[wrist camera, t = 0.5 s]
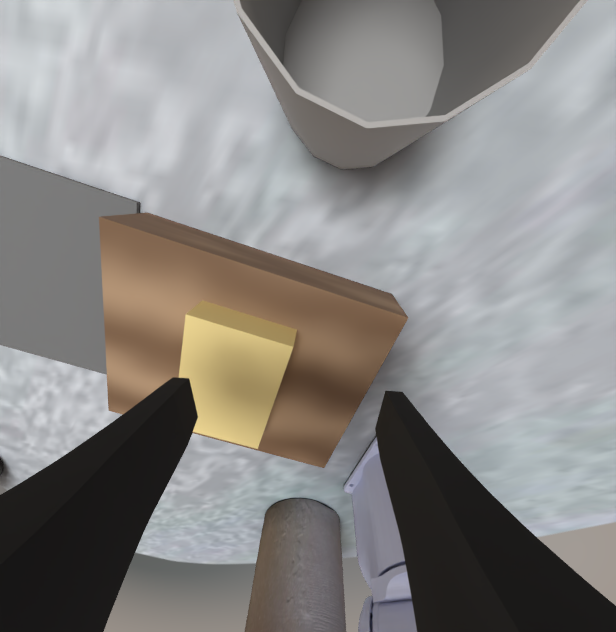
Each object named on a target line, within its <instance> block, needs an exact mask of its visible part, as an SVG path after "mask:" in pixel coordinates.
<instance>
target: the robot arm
mask: <svg viewBox="0 0 616 632" xmlns="http://www.w3.org/2000/svg"><path fill="white" fill-rule="evenodd" d="M197 418H198V414H197V410H196V406H195V401H194V397H193V393H192V388H191V384H190V379H189V378H177V377H173V378H171V379H170V380H168V381H167V382H166V383H164V384H163V385H162V386H160V387H159V388H158V389H156V390H155V391H154V392H152V393H151V394H150V395H148V396H147V397H146V398H144V399H143V400H142V401H140V402H139V403H138V404H136V405H135V406H134V407H132V408H131V409H130V410H128V411H127V412H126V413H124V414H123V415H122V416H120V417H119V418H118V419H116V420H115V421H114V422H112V423H111V424H109V425H108V426H107V427H105V428H104V429H102V430H101V431H99V432H98V433H97V434H95V435H94V436H92V437H91V438H89V439H88V440H86V441H85V442H84V443H82V444H81V445H79V446H78V447H76V448H75V449H74V450H72V451H71V452H69V453H68V454H66V455H65V456H63V457H62V458H60V459H58V460H57V461H55V462H54V463H52V464H51V465H49V466H48V467H46V468H44V469H43V470H41V471H39V472H38V473H36V474H35V475H33V476H31V477H30V478H28V479H27V480H25V481H23V482H22V483H20V484H18V485H17V486H15V487H13V488H12V489H10V490H8V491H7V492H5V493H3V494H1V495H0V632H103V631H104V628H105V626H106V623H107V620H108V618H109V615H110V612H111V610H112V607H113V605H114V602H115V600H116V598H117V595H118V592H119V590H120V587H121V585H122V582H123V580H124V578H125V575H126V573H127V570H128V568H129V565H130V563H131V561H132V558H133V556H134V553H135V551H136V549H137V546H138V544H139V542H140V539H141V537H142V534H143V532H144V530H145V528H146V526H147V524H148V521H149V519H150V517H151V515H152V513H153V511H154V509H155V507H156V505H157V504H158V502H159V500H160V498H161V496H162V494H163V492H164V490H165V488H166V486H167V484H168V482H169V480H170V478H171V476H172V475H173V473H174V471H175V469H176V467H177V465H178V463H179V461H180V459H181V457H182V455H183V453H184V451H185V449H186V447H187V445H188V442H189V440H190V437H191V435H192V432H193V430H194V427H195V424H196V421H197ZM375 429H376V436H377V437H376V438H375V439H374V441H373V442H372V444H371V445H370V447H369V448H368V450H367V452H366V453H365V455H364V456H363V458H362V459H361V461H360V462H359V464H358V465H357V467H356V468H355V470H354V471H353V473H352V475H351V476H350V478H349V479H348V481H347V482H346V484H345V485H344V491H345V492H346V493H350V494H352V502H353V513H354V524H355V535H356V546H357V556H358V562H359V565H360V568H361V571H362V574H363V576H364V578H365V580H366V582H367V584H368V586H369V587H370V589H371V590H372V596H369V597H367V598H366V599H365V602H364V605H363V609H362V611H361V614H360V619H359V627H358V632H616V606H615V605H614V604H613V603H612V602H610V601H609V600H608V599H607V598H605V597H604V596H603V595H602V594H601V593H599V592H598V591H597V590H596V589H595V588H593V587H592V586H591V585H590V584H589V583H588V582H587V581H585V580H584V579H583V578H582V577H581V576H580V575H578V574H577V573H576V572H575V571H574V570H573V569H572V568H570V567H569V566H568V565H567V564H566V563H565V562H564V561H563V560H561V559H560V558H559V557H558V556H557V555H556V554H555V553H553V552H552V551H551V550H550V549H549V548H548V547H547V546H546V545H544V544H543V543H542V542H541V541H540V540H539V539H538V538H537V537H536V536H534V535H533V534H532V533H531V532H530V531H529V530H528V529H527V528H526V527H525V526H524V525H523V524H521V523H520V522H519V521H518V520H517V519H516V518H515V517H514V516H513V515H512V514H511V513H510V512H509V511H508V510H507V509H506V508H505V507H504V506H503V505H502V504H501V503H500V502H499V501H498V500H497V499H496V498H495V497H494V496H493V495H492V494H491V493H490V492H489V491H488V490H487V489H486V488H485V487H484V486H483V485H482V484H481V483H480V482H479V481H478V480H477V479H476V478H475V477H474V476H473V475H472V473H471V472H470V471H469V470H468V469H467V468H466V467H465V466H464V465H463V464H462V463H461V462H460V460H459V459H458V458H457V457H456V456H455V455H454V454H453V453H452V451H451V450H450V449H449V448H448V447H447V446H446V444H445V443H444V442H443V441H442V440H441V439H440V437H439V436H438V435H437V434H436V433H435V432H434V430H433V429H432V428H431V427H430V426H429V424H428V423H427V422H426V421H425V419H424V418H423V417H422V416H421V414H420V413H419V412H418V411H417V409H416V408H415V407H414V406H413V404H412V403H411V402H410V401H409V399H408V398H407V397H406V396H405V395H404V393H403V392H395V391H385V395H384V399H383V402H382V406H381V410H380V413H379V417H378V421H377V425H376V428H375Z"/></svg>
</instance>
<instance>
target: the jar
mask: <svg viewBox="0 0 616 632" xmlns="http://www.w3.org/2000/svg"><path fill="white" fill-rule="evenodd" d="M2 470H3V464H2V461H1V459H0V476H1V474H2Z"/></svg>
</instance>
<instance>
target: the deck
mask: <svg viewBox="0 0 616 632" xmlns="http://www.w3.org/2000/svg"><path fill="white" fill-rule="evenodd" d="M99 230H100V249H101V269H102V288H103V308H104V327H105V347H106V367H107V386H108V406H109V411H112V412H116V413H120V414H124V413H126V412H127V411H128V410H130V409H131V408H132V407H134V406H135V405H136V404H138V403H139V402H140V401H142V400H143V399H144V398H146V397H147V396H148V395H150V394H151V393H152V392H154V391H155V390H156V389H158V388H159V387H160V386H162V385H163V384H164V383H166V382H167V381H168V380H170V379H171V378H173V377H177V378H179V370H180V361H181V352H182V343H183V334H184V325H185V316H186V314H187V313H188V312H189V311H190V310H191V309H193V308H194V307H195V306H196V305H197V304H199V303H200V302H201V301H202V300H203V301H206V302H209V303H213V304H216V305H219V306H222V307H225V308H229V309H232V310H235V311H238V312H242V313H245V314H248V315H251V316H254V317H258V318H261V319H264V320H267V321H270V322H274V323H277V324H280V325H283V326H287V327H290V328H293V329H296V330H297V332H296V337H295V342H294V347H293V350H292V352H291V355H290V358H289V361H288V364H287V367H286V370H285V372H284V375H283V378H282V381H281V384H280V387H279V390H278V392H277V395H276V398H275V401H274V404H273V407H272V410H271V412H270V415H269V418H268V421H267V424H266V427H265V430H264V432H263V435H262V438H261V441H260V444H259V447H258V449H255V448H252V447H248V446H244V445H240V444H237V443H233V442H229V441H226V440H222V439H218V438H214V437H211V436H207V435H203V434H199V433H196V432H192V433H195V434H198V435H202V436H206V437H210V438H213V439H217V440H221V441H225V442H228V443H232V444H236V445H240V446H243V447H247V448H251V449H255V450H258V451H262V452H266V453H270V454H273V455H277V456H281V457H285V458H288V459H292V460H296V461H300V462H303V463H307V464H311V465H315V466H318V467H322V468H324V467H325V465H326V464H327V462H328V460H329V458H330V457H331V455H332V453H333V451H334V449H335V448H336V446H337V444H338V442H339V440H340V439H341V437H342V435H343V433H344V432H345V430H346V428H347V426H348V424H349V423H350V421H351V419H352V417H353V416H354V414H355V412H356V410H357V408H358V407H359V405H360V403H361V401H362V399H363V398H364V396H365V394H366V392H367V391H368V389H369V387H370V385H371V383H372V382H373V380H374V378H375V376H376V375H377V373H378V371H379V369H380V367H381V366H382V364H383V362H384V360H385V358H386V357H387V355H388V353H389V351H390V350H391V348H392V346H393V344H394V342H395V341H396V339H397V337H398V335H399V334H400V332H401V330H402V328H403V326H404V325H405V323H406V321H407V319H408V317H407V315H406V314H405V312H404V311H403V309H402V308H401V307H400V305H399V304H398V302H397V301H396V299H395V298H394V296H393V295H392V294H390V293H387V292H384V291H381V290H378V289H375V288H372V287H369V286H366V285H363V284H360V283H357V282H354V281H351V280H348V279H345V278H342V277H339V276H336V275H333V274H330V273H327V272H324V271H321V270H318V269H315V268H312V267H309V266H306V265H303V264H300V263H297V262H294V261H291V260H288V259H285V258H282V257H279V256H276V255H273V254H270V253H267V252H264V251H261V250H258V249H255V248H252V247H249V246H246V245H243V244H240V243H237V242H234V241H231V240H228V239H225V238H222V237H219V236H216V235H213V234H210V233H207V232H204V231H201V230H198V229H195V228H192V227H189V226H186V225H183V224H180V223H177V222H174V221H171V220H168V219H165V218H162V217H159V216H156V215H153V214H150V213H136V214H124V215H113V216H101V217H99Z"/></svg>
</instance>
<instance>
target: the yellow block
mask: <svg viewBox="0 0 616 632" xmlns="http://www.w3.org/2000/svg"><path fill="white" fill-rule="evenodd" d="M296 332H297V330H296V329H293V328H290V327H287V326H283V325H280V324H277V323H274V322H270V321H267V320H264V319H261V318H258V317H254V316H251V315H248V314H245V313H242V312H238V311H235V310H232V309H229V308H225V307H222V306H219V305H216V304H213V303H209V302H206V301H203V300H202V301H201V302H200V303H199V304H197V305H196V306H195V307H194V308H193V309H191V310H190V311H189V312H188V313H187V314H186V316H185V325H184V334H183V343H182V352H181V361H180V370H179V378H189V379H190V384H191V388H192V393H193V397H194V401H195V406H196V410H197V414H198V418H197V421H196V424H195V427H194V430H193V432H196V433H199V434H203V435H207V436H211V437H214V438H218V439H222V440H226V441H229V442H233V443H237V444H240V445H244V446H248V447H252V448H255V449H258V447H259V444H260V441H261V438H262V435H263V432H264V430H265V427H266V424H267V421H268V418H269V415H270V412H271V410H272V407H273V404H274V401H275V398H276V395H277V392H278V390H279V387H280V384H281V381H282V378H283V375H284V372H285V370H286V367H287V364H288V361H289V358H290V355H291V352H292V350H293V347H294V342H295V337H296Z"/></svg>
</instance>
